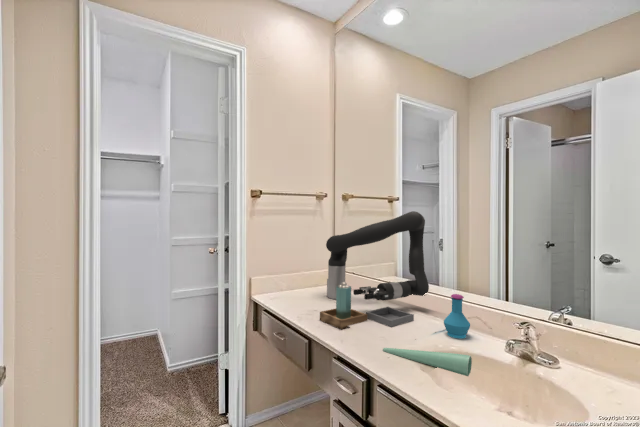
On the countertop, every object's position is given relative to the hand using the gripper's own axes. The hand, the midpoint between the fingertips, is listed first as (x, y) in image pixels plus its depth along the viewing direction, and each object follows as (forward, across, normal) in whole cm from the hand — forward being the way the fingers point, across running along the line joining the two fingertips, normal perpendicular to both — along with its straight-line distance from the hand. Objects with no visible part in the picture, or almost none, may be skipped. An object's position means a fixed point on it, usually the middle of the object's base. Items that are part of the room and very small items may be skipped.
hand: (359, 294), depth 142 cm
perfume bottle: (-23, +31, +11) cm, 40 cm away
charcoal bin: (-10, +8, +10) cm, 17 cm away
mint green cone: (+4, +42, +11) cm, 44 cm away
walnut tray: (+8, 0, +10) cm, 13 cm away
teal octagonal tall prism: (+8, 0, +10) cm, 12 cm away
